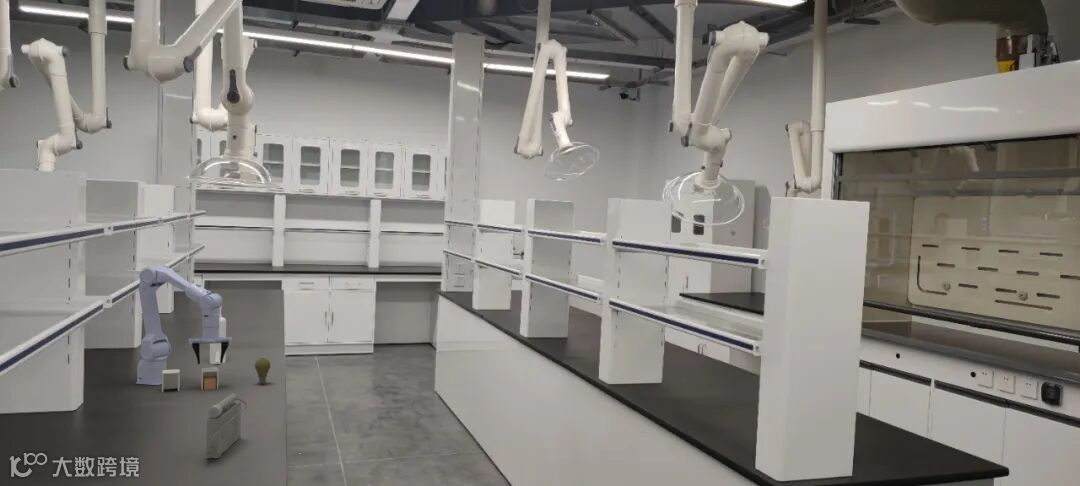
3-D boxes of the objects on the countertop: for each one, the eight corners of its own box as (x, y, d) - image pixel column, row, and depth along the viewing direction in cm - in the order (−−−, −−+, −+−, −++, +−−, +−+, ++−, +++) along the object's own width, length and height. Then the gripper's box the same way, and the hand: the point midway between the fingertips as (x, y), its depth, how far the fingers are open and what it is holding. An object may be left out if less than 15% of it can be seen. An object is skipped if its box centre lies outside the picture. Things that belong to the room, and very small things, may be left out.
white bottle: (207, 365, 317) (209, 306, 317) (209, 361, 328) (212, 303, 328) (224, 365, 319) (227, 306, 319) (226, 360, 330) (228, 304, 330)
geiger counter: (226, 390, 221) (195, 412, 196) (249, 390, 221) (220, 412, 196) (226, 437, 221) (194, 465, 196) (248, 437, 222) (219, 465, 197)
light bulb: (264, 386, 285) (265, 360, 284) (251, 385, 286) (252, 358, 286) (273, 383, 290) (273, 357, 290) (259, 381, 291) (260, 356, 291)
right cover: (201, 390, 276) (201, 371, 275) (201, 386, 281) (201, 368, 280) (218, 389, 278) (218, 370, 278) (217, 385, 283) (218, 367, 283)
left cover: (161, 392, 270) (162, 373, 270) (162, 388, 275) (162, 370, 275) (179, 391, 273) (179, 372, 272) (179, 387, 278) (179, 369, 277)
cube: (203, 389, 277) (204, 379, 277) (203, 387, 280) (203, 376, 280) (215, 389, 278) (215, 378, 278) (215, 386, 282) (215, 376, 282)
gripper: (189, 328, 272) (188, 366, 272) (232, 327, 278) (231, 364, 278) (189, 325, 278) (188, 362, 279) (231, 324, 284) (230, 360, 285)
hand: (210, 363), depth 279 cm, fingers open, 7 cm apart
